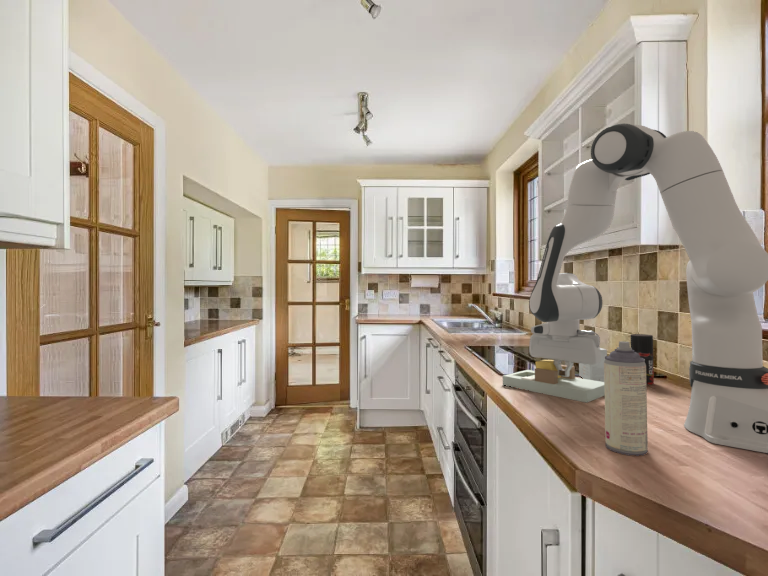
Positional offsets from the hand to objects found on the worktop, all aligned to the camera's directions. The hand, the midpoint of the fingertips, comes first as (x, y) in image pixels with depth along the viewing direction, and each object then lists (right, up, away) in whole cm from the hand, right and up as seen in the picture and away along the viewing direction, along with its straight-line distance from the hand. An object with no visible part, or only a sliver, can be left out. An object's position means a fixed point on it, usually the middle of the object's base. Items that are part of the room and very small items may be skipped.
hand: (563, 376), depth 118 cm
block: (-3, -1, +4) cm, 5 cm away
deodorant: (+29, -4, +9) cm, 30 cm away
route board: (-2, -5, +2) cm, 5 cm away
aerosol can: (-7, -5, -42) cm, 43 cm away
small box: (+16, -5, +14) cm, 22 cm away
